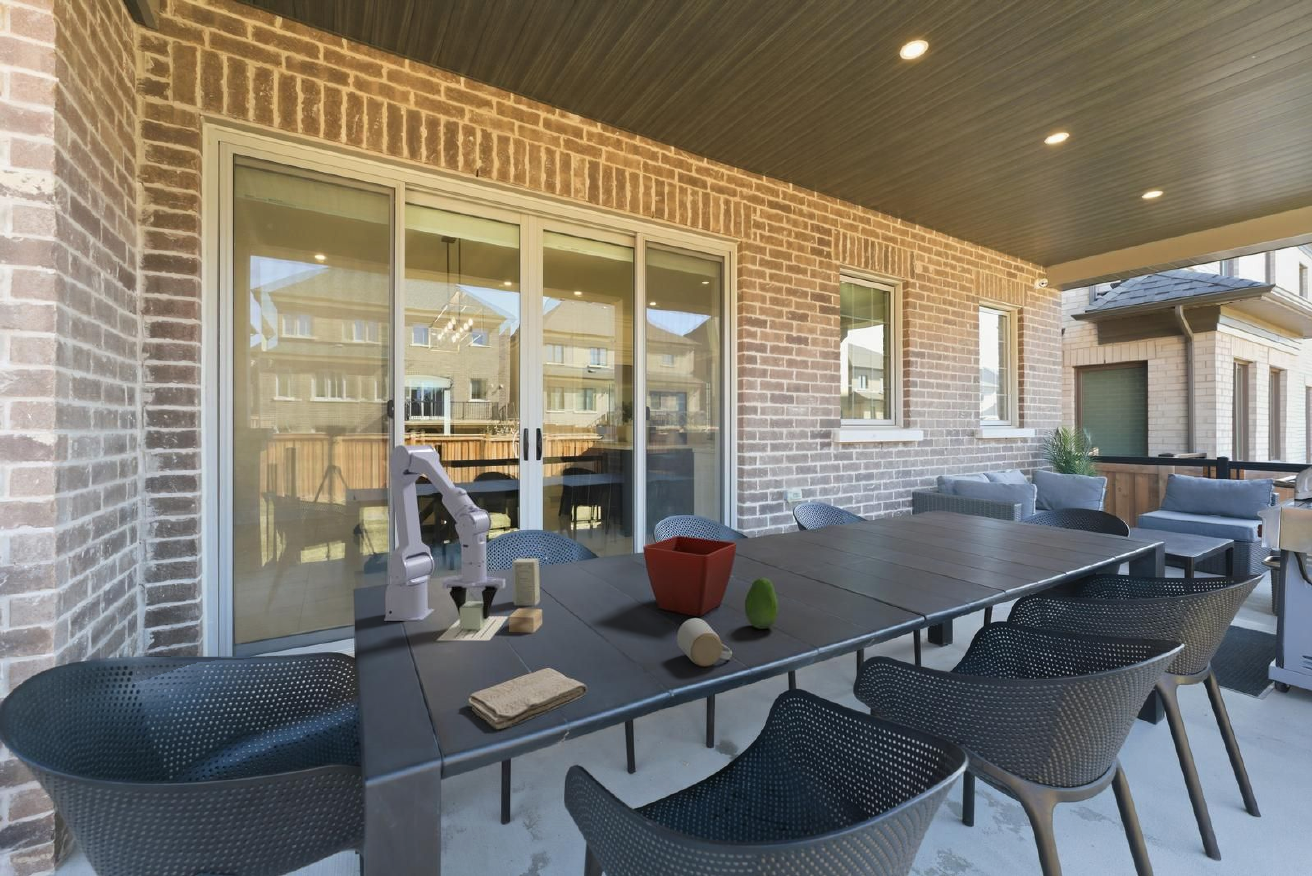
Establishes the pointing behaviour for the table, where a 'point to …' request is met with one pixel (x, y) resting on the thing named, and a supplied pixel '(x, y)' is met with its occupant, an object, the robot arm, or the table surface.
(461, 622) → the sage cube
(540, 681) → the washcloth
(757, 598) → the fruit
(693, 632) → the ceramic mug
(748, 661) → the table surface
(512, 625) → the oak block
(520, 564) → the skincare box
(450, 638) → the letter
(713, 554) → the plant pot
